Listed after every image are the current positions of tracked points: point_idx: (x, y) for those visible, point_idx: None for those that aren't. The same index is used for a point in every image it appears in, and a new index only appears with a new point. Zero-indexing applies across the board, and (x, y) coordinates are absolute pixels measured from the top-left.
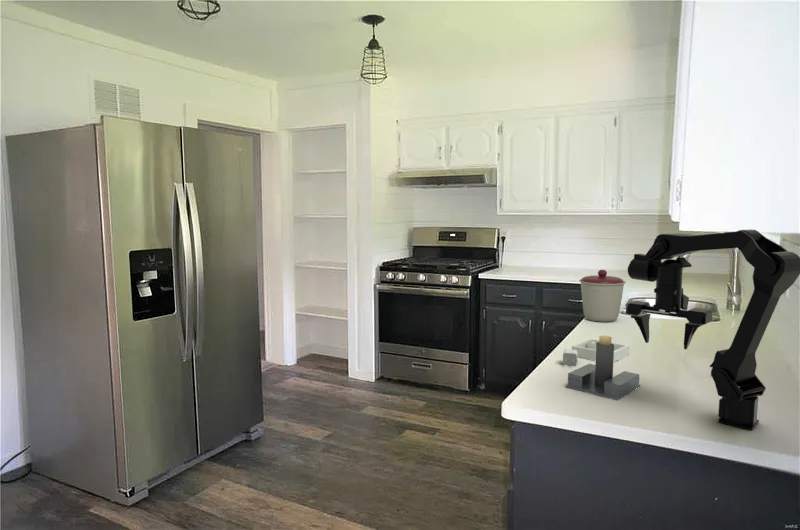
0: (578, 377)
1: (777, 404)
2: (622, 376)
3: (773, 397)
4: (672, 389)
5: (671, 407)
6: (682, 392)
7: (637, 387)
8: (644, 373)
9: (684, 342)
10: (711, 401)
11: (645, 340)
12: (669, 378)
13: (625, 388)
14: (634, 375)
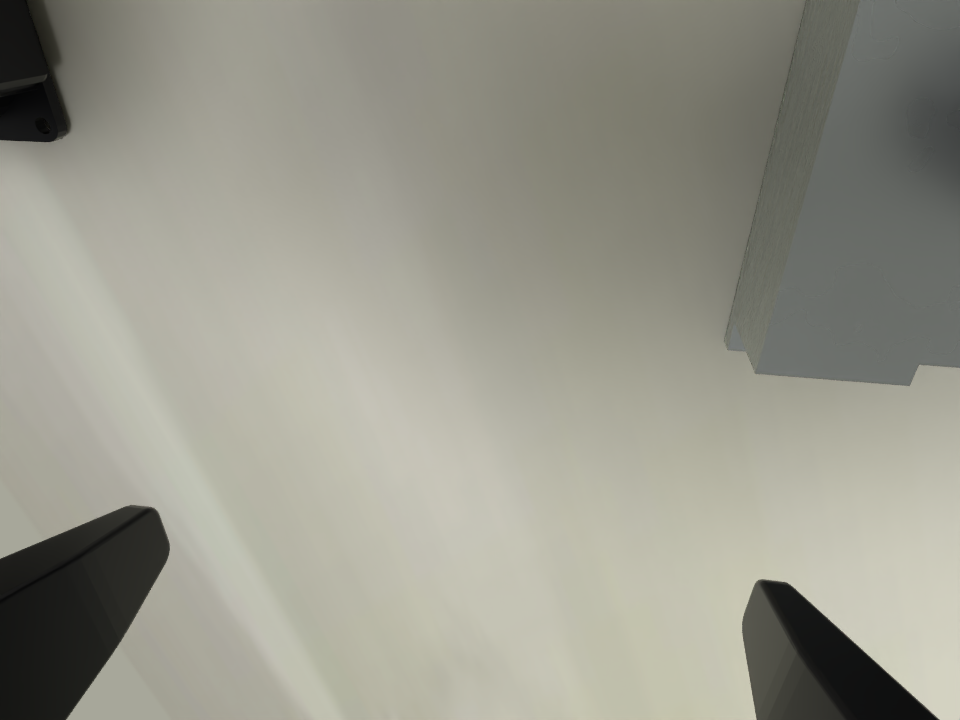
0: None
1: (53, 475)
2: (912, 211)
3: None
4: (517, 410)
5: (378, 6)
6: (448, 391)
7: (738, 292)
8: None
9: (32, 570)
10: (258, 334)
11: (802, 606)
12: (594, 578)
13: (826, 21)
14: (793, 317)
